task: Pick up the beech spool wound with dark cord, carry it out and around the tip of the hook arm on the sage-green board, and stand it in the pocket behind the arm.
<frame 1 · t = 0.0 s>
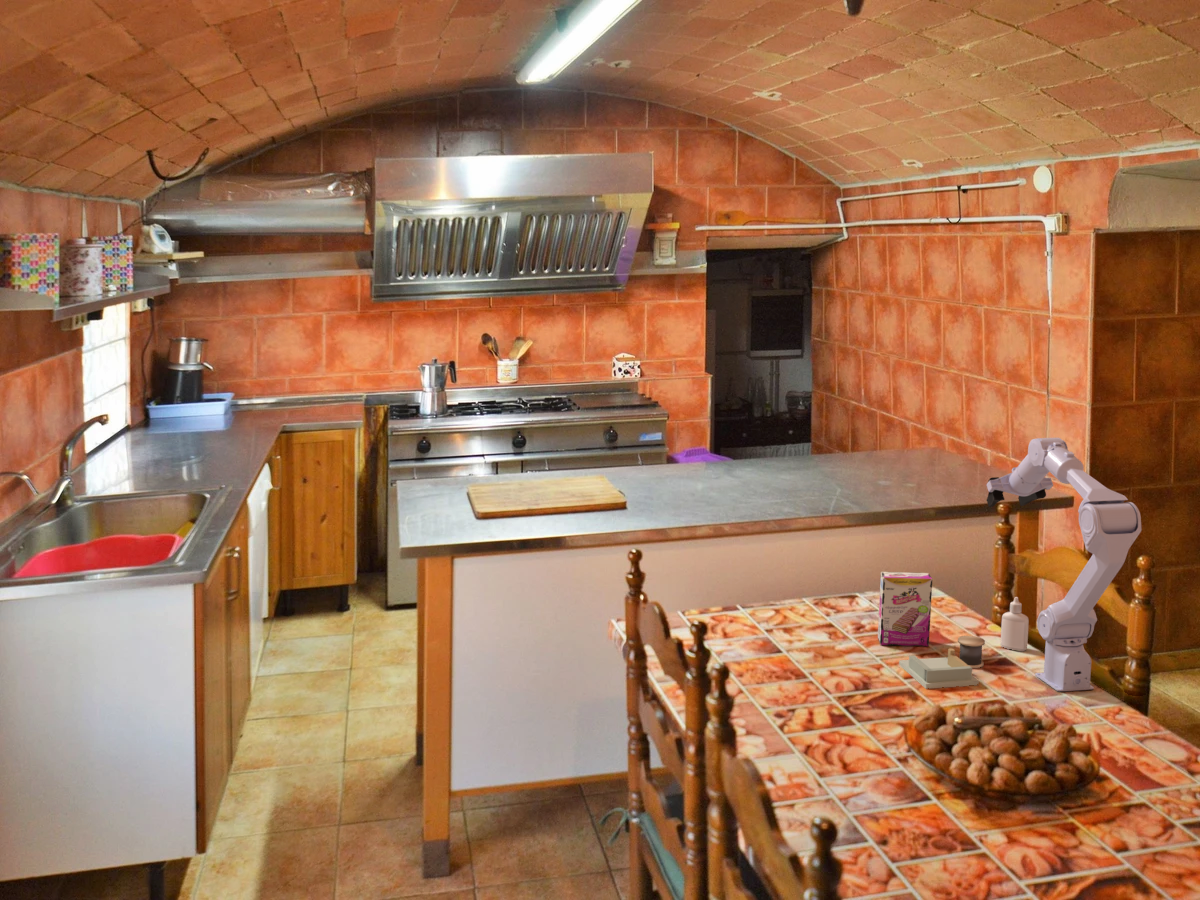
hand: (1004, 502, 258), 32 cm above the table, tool tilted 50°, fingers open, 7 cm apart
spool: (970, 663, 247), on the table
eye dropper bottle: (1013, 649, 256), on the table
candy bar box: (903, 643, 260), on the table
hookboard: (949, 673, 241), on the table
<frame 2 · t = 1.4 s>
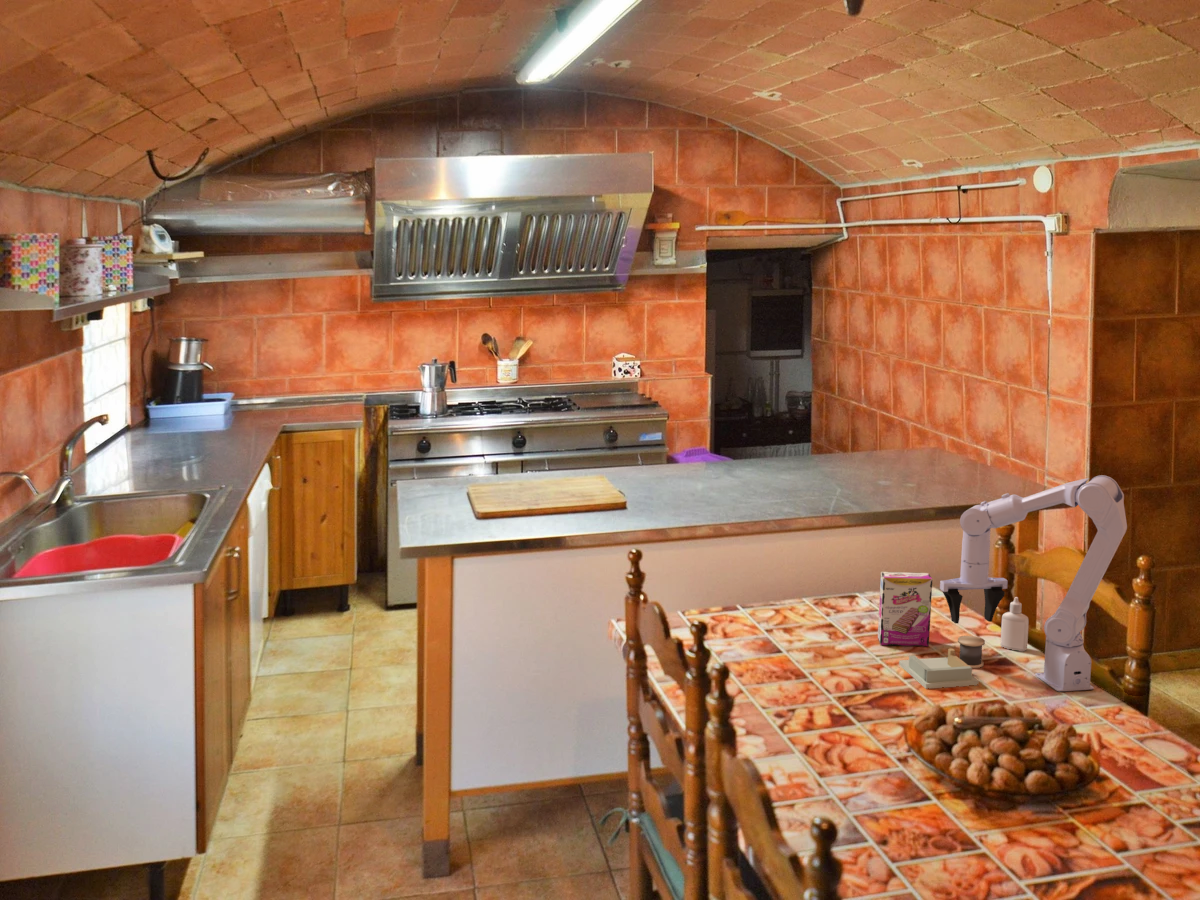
hand: (971, 621, 246), 10 cm above the table, tool pointing down, fingers open, 7 cm apart
nothing on the table moved.
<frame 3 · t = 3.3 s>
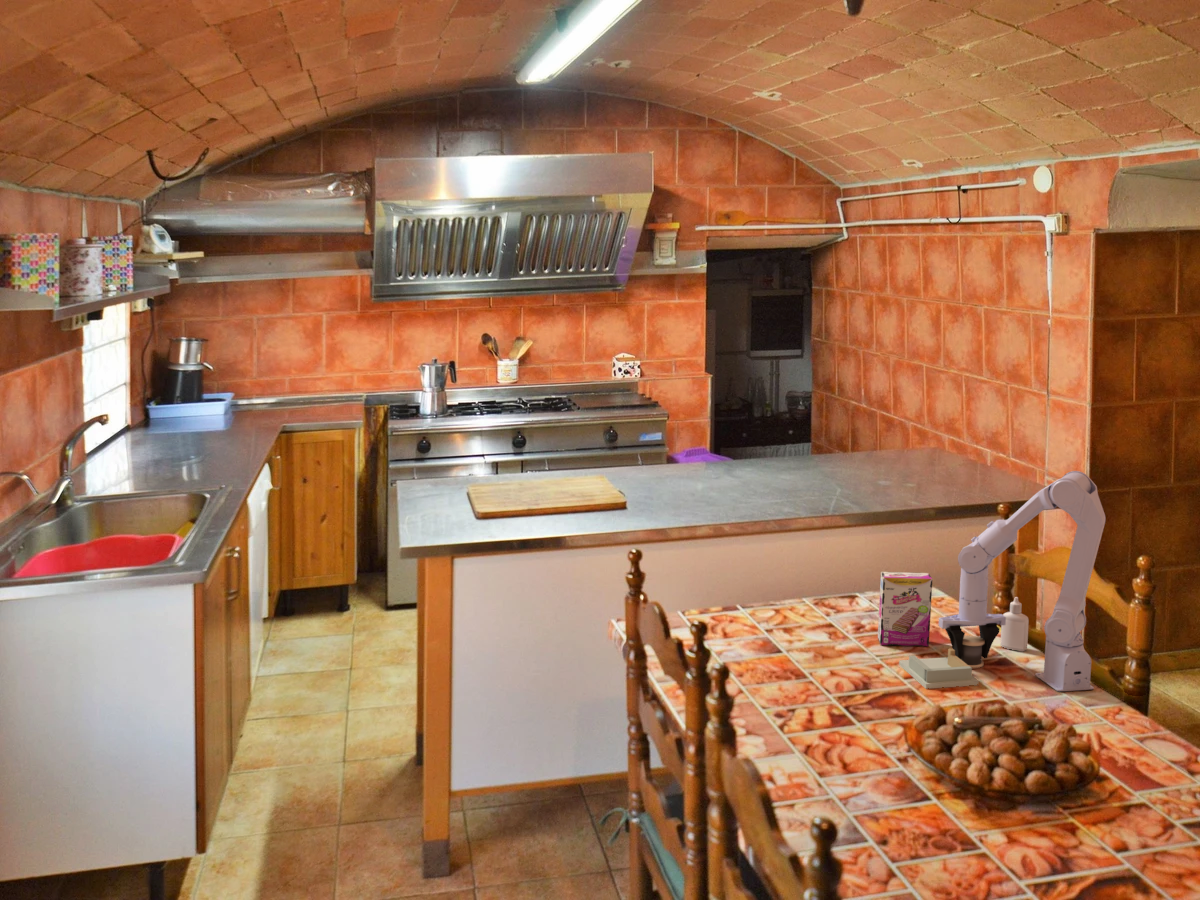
hand: (970, 657, 247), 1 cm above the table, tool pointing down, fingers closed on spool, 5 cm apart
spool: (970, 663, 247), on the table, touching gripper
everything else where it was.
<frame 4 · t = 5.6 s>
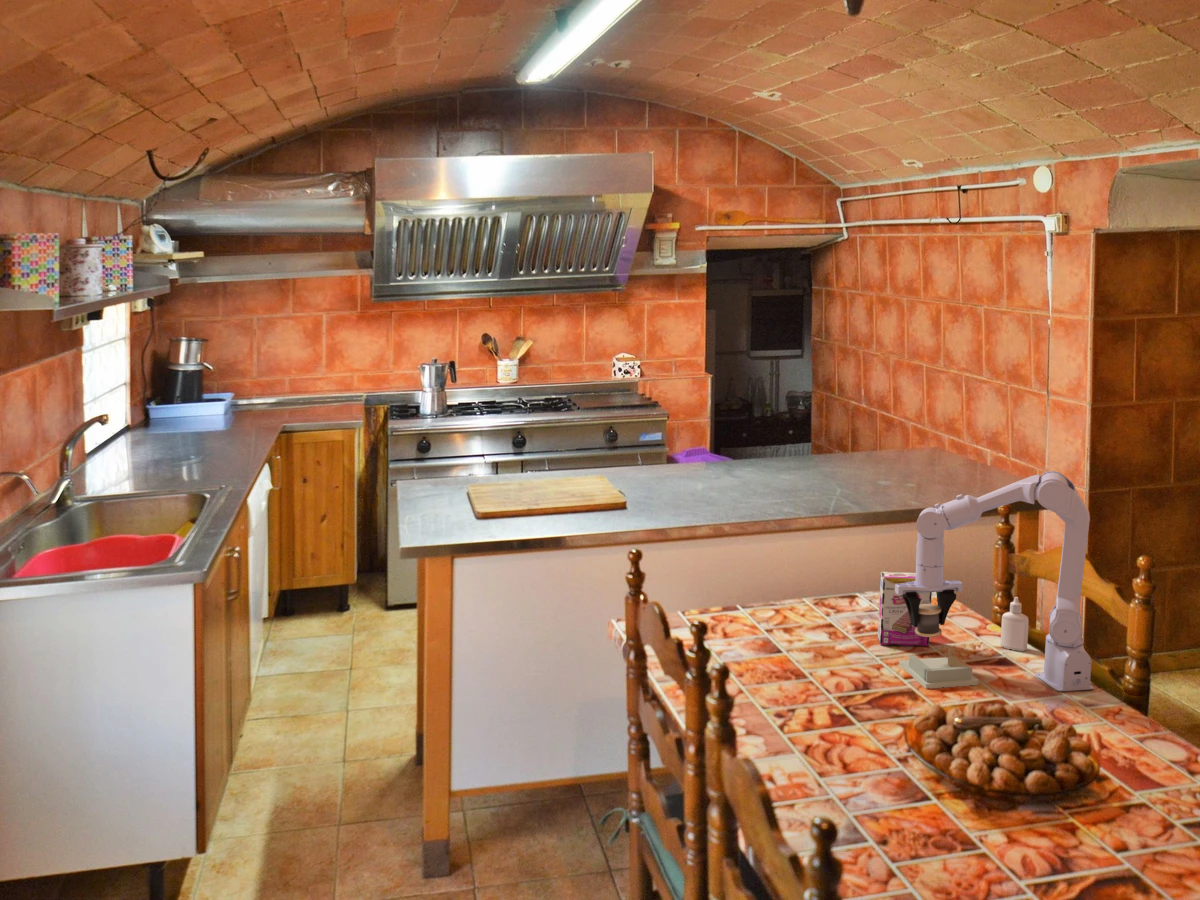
hand: (927, 624, 245), 9 cm above the table, tool pointing down, fingers closed on spool, 5 cm apart
spool: (928, 632, 245), point 7 cm above the table, touching gripper
everything else where it was.
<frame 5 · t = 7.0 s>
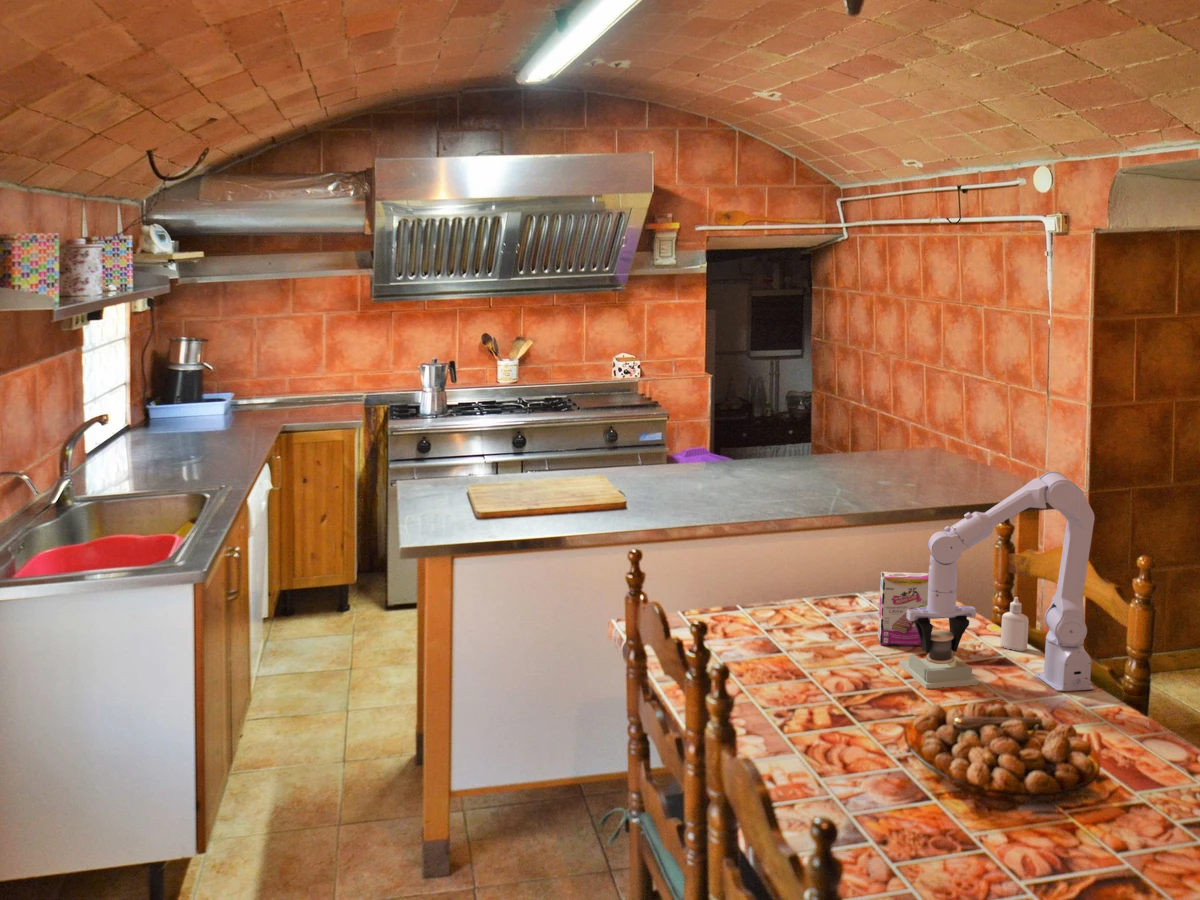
hand: (939, 650, 239), 6 cm above the table, tool pointing down, fingers closed on spool, 5 cm apart
spool: (940, 659, 239), point 4 cm above the table, touching gripper
everything else where it was.
when the fingers open (5 cm above the table, at t = 8.2 s): spool drops 2 cm, resting on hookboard.
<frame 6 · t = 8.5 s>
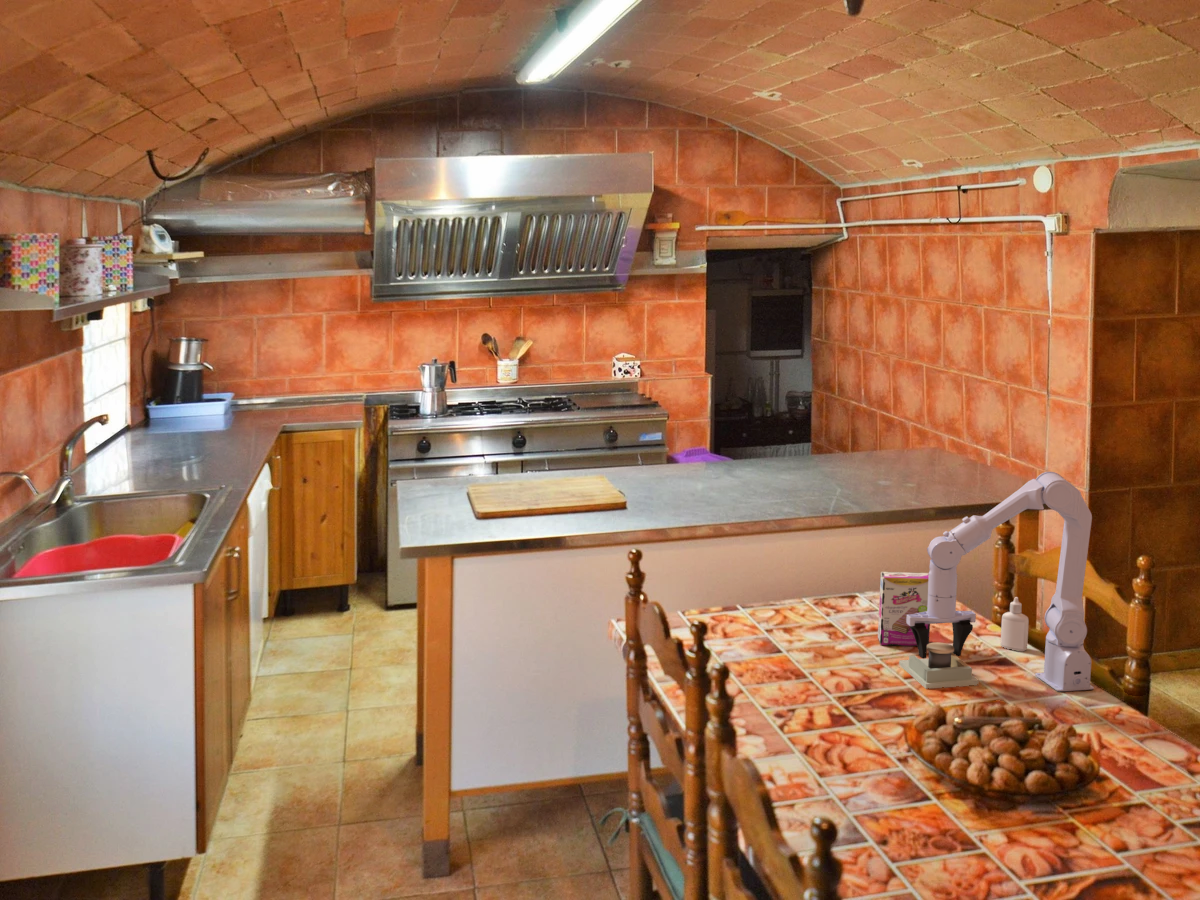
hand: (939, 655, 239), 5 cm above the table, tool pointing down, fingers open, 7 cm apart
spool: (939, 671, 240), point 1 cm above the table, touching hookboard
everything else where it was.
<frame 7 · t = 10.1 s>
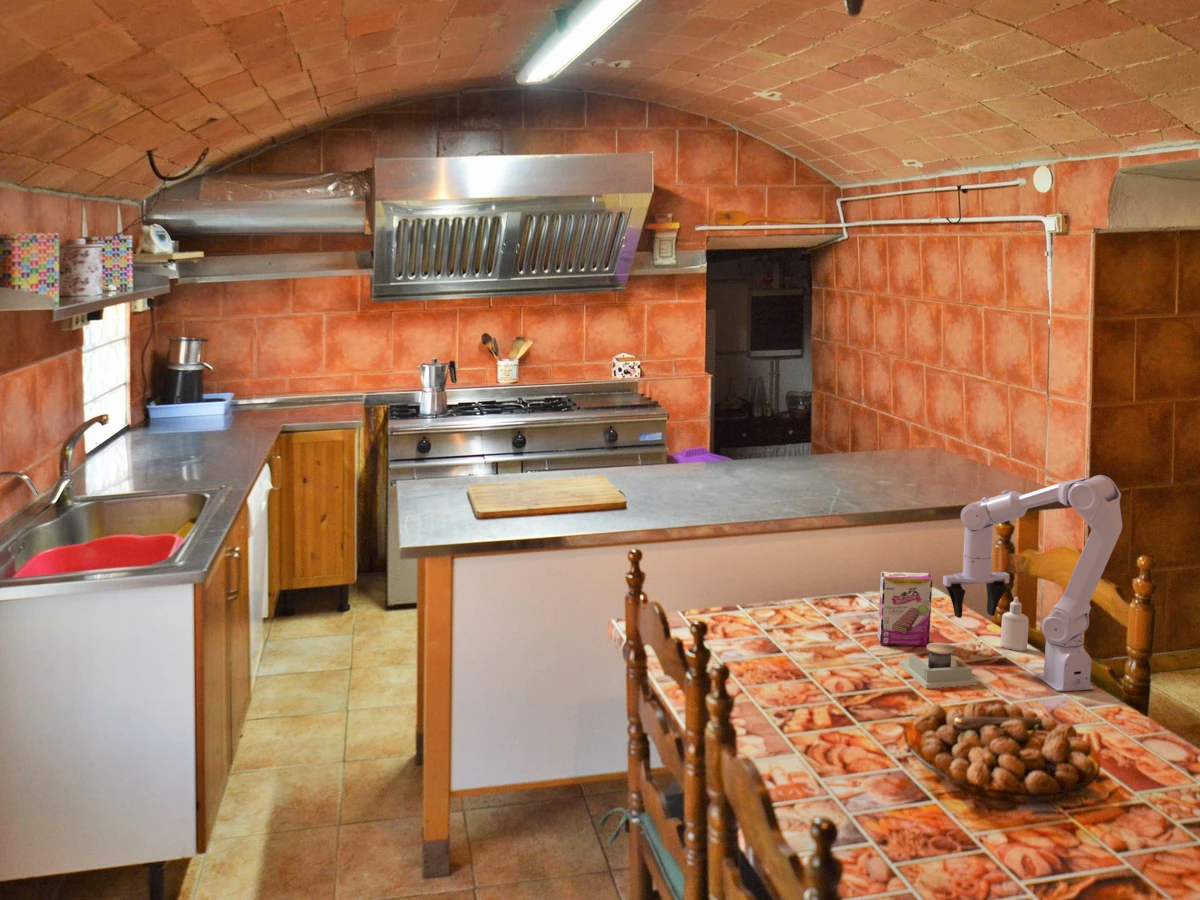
hand: (974, 615, 248), 10 cm above the table, tool pointing down, fingers open, 7 cm apart
nothing on the table moved.
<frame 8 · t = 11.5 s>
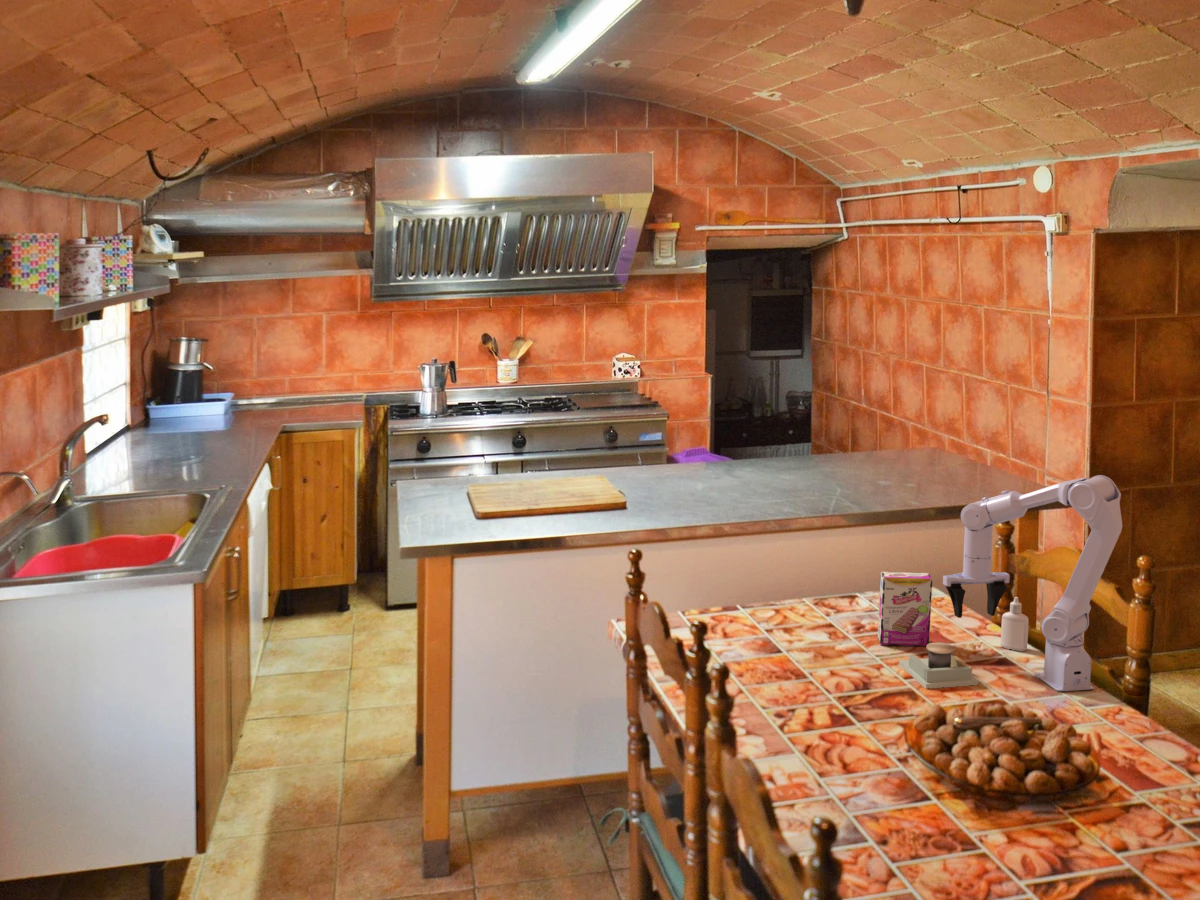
hand: (974, 615, 248), 10 cm above the table, tool pointing down, fingers open, 7 cm apart
nothing on the table moved.
at the end: spool inside the target area (0.3 cm from its centre), point 1.0 cm above the table; spool tilted 0°; the gripper is holding nothing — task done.
